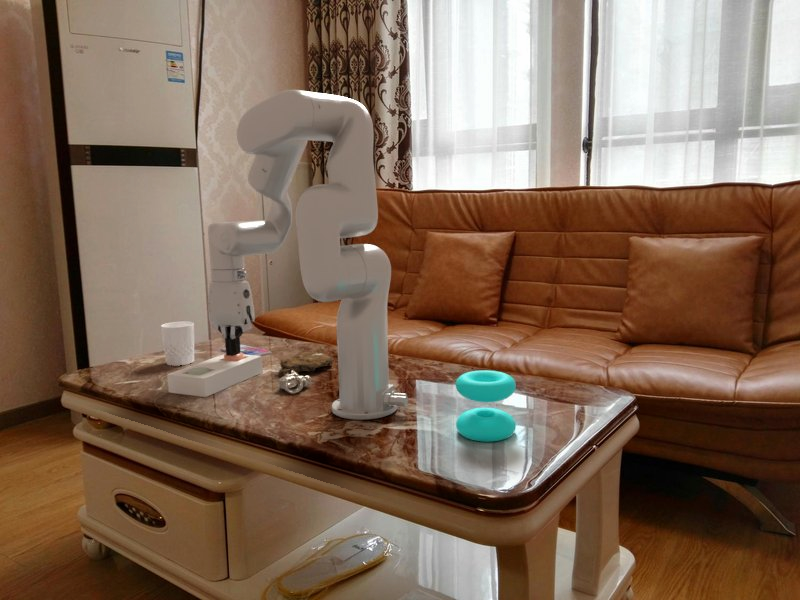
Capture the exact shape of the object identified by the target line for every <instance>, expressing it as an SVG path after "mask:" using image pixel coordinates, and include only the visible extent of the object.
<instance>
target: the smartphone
mask: <svg viewBox="0 0 800 600" xmlns="http://www.w3.org/2000/svg"><path fill="white" fill-rule="evenodd" d="M220 351H221V352H225V353H226V347H225V346H224V347H221V348H220ZM240 352H242V353H243V354H246V355H257V356H262V357H264V356H268V355H272V350H271V351H270V350H266V349H263V348H258V347H255V346H250V345H246V344H240Z"/></svg>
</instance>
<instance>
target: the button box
mask: <svg viewBox="0 0 800 600" xmlns="http://www.w3.org/2000/svg"><path fill="white" fill-rule="evenodd" d="M224 354H225V353H223V354H221V355H220V354H219V355H217V356H215V357H211V358H209V359H206V360H204V361H201V362H198V363H195V364H192V365H190V366H186V367H185V368H181V369H179V370H175V371H172V372H169V373H167V375H166V377H167V387H168V393H171V394H177V395H179V394H180V395H185V396H187V395H188V396H194V397H202V398H207V397H209V396H212V395H214V394H216V393H218V392H221V391H223V390H226V389H228V388H230V387H232V386H235V385H236V384H240V383H241V382H244V381H246V380H248V379H251V378H254V377H256V376H257V375H260V374H263V373H264V367H263V356H257V355H246V354H243V356H244V359H242V360H239V361H237V362H233V361H224ZM198 367H206V368H209V372H208V373H205V374H203V375H200V376H199V375H190V374H188V370H189V369H192V368H198Z"/></svg>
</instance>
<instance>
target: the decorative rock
mask: <svg viewBox="0 0 800 600" xmlns="http://www.w3.org/2000/svg"><path fill="white" fill-rule="evenodd" d="M334 361H335V360H334V358H333V357H332V356H331V355H328V354H325V353H322V352H313V351H305V352H304V351H303V352H302V351H301V352H299V353H297V354H294V355H293V356H290V357H288V358H282V359H280V369H279V371H278V372H279V373H281V374H282V375H283V376H285V375H286V374H287V373H288V374H292V373H291V371H295V372H296V373H297V374H299V373H300V372H305V371H306V372H311V371H315V370H316V369H319V368H321V367H331V366H333V362H334Z"/></svg>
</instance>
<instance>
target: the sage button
mask: <svg viewBox="0 0 800 600" xmlns="http://www.w3.org/2000/svg"><path fill="white" fill-rule="evenodd" d="M208 372H209V368H206V367H198V368H192V369H189V370H188V374H190V375H199V376H200V375H203V374H205V373H208Z"/></svg>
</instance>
